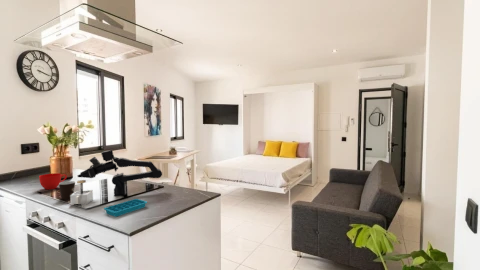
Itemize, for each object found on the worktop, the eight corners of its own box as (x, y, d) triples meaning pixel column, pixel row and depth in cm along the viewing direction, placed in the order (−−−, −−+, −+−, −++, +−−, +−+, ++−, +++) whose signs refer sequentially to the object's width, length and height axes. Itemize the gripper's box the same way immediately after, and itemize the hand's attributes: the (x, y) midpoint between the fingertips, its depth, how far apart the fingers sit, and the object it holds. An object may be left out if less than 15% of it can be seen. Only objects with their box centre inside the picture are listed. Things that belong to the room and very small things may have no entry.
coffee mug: (67, 200, 152) (66, 184, 152) (55, 199, 154) (55, 184, 154) (82, 195, 164) (82, 180, 163) (71, 194, 165) (71, 179, 165)
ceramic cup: (70, 186, 186) (70, 173, 185) (43, 191, 171) (43, 177, 171) (63, 184, 193) (62, 171, 192) (36, 189, 178) (36, 175, 178)
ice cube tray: (148, 207, 142) (148, 202, 142) (114, 218, 125) (114, 212, 125) (136, 203, 148) (136, 198, 148) (102, 213, 131) (102, 208, 131)
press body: (92, 199, 154) (92, 190, 154) (85, 205, 143) (85, 195, 143) (77, 200, 152) (76, 191, 152) (68, 206, 141) (68, 196, 141)
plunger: (89, 192, 153) (89, 179, 152) (85, 195, 146) (85, 181, 146) (78, 192, 151) (77, 179, 151) (73, 196, 145) (73, 182, 144)
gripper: (103, 153, 168) (78, 161, 162) (100, 157, 151) (71, 165, 145) (108, 169, 170) (83, 176, 164) (105, 174, 153) (77, 182, 147)
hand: (79, 174), depth 155 cm, fingers open, 9 cm apart
